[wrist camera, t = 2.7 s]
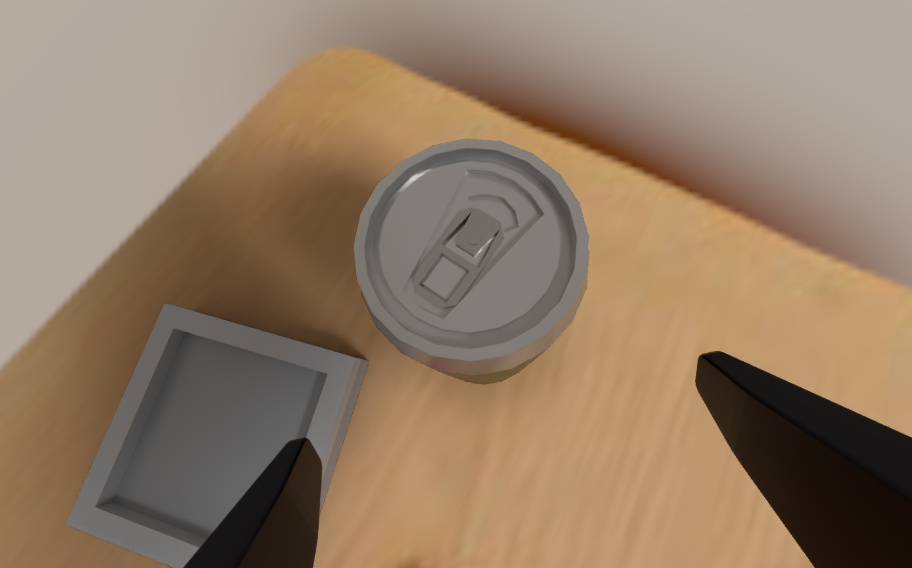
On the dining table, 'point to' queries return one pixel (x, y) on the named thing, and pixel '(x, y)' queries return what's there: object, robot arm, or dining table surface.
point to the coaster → (208, 430)
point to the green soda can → (472, 258)
